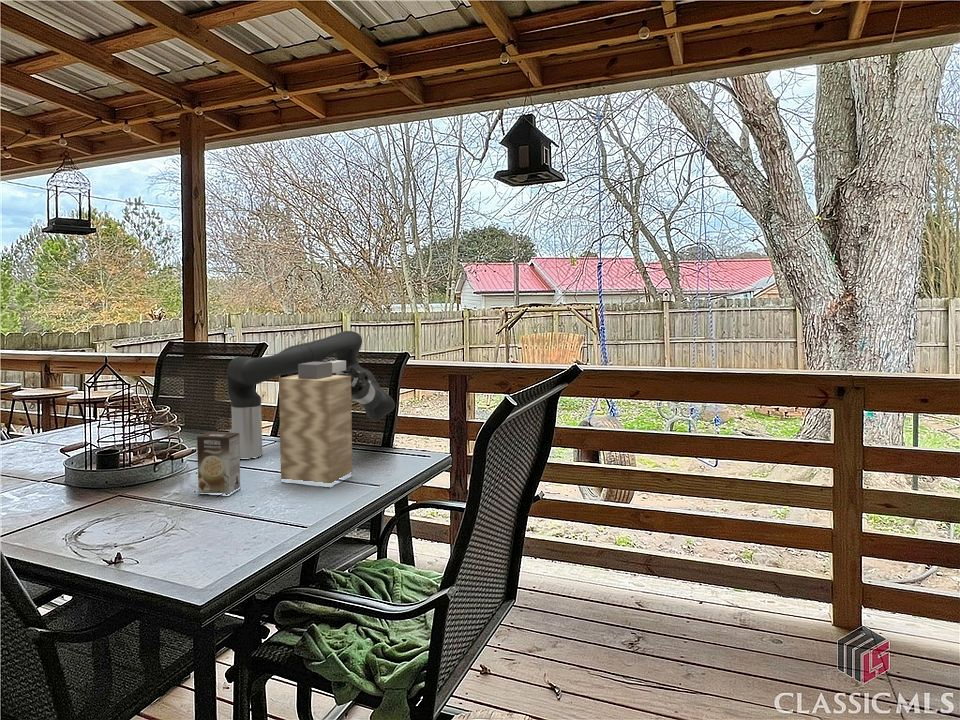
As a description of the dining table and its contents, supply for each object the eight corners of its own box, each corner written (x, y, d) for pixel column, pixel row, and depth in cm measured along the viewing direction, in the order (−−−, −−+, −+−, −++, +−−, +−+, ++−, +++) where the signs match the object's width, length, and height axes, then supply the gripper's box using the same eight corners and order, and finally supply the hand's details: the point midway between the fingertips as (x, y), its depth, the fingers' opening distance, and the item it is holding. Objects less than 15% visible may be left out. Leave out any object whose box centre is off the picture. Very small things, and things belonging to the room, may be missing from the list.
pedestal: (281, 482, 173) (278, 378, 170) (305, 471, 184) (303, 373, 182) (330, 488, 168) (328, 380, 165) (352, 476, 180) (351, 376, 177)
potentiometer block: (298, 378, 171) (298, 364, 170) (333, 371, 188) (333, 358, 188) (316, 379, 169) (316, 364, 168) (350, 372, 186) (350, 359, 186)
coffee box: (197, 495, 161) (194, 436, 159) (210, 488, 167) (208, 431, 166) (230, 497, 160) (228, 437, 159) (241, 489, 166) (240, 432, 165)
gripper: (343, 377, 202) (319, 356, 188) (382, 379, 198) (360, 358, 184) (337, 398, 199) (313, 379, 185) (376, 401, 195) (354, 381, 181)
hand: (337, 368), depth 185 cm, fingers open, 8 cm apart
